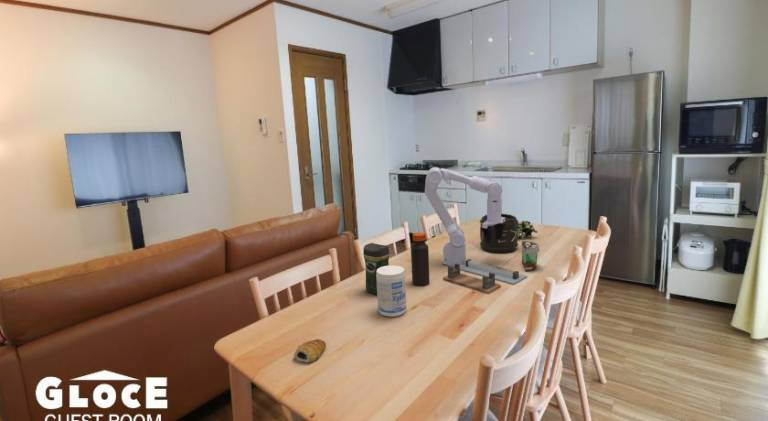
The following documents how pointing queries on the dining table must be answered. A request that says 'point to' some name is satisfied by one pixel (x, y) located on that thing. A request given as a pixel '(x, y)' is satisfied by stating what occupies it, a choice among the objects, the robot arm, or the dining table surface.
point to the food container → (529, 255)
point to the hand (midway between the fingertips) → (493, 241)
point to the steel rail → (492, 269)
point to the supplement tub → (391, 290)
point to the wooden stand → (472, 280)
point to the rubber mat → (497, 277)
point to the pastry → (310, 350)
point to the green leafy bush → (525, 229)
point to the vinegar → (420, 260)
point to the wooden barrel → (508, 237)
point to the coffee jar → (374, 263)
